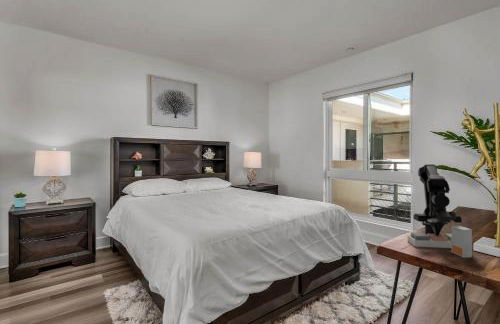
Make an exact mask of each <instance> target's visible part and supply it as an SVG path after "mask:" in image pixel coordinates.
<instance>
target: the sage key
mask: <svg viewBox="0 0 500 324" xmlns="http://www.w3.org/2000/svg"><path fill="white" fill-rule="evenodd" d="M451 234H452V233H443V236H445V237H447V238H448V240H449V241H451V236H452V235H451Z"/></svg>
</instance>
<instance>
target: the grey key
mask: <svg viewBox="0 0 500 324" xmlns="http://www.w3.org/2000/svg"><path fill="white" fill-rule="evenodd" d="M410 235H411V237H412V238H414V239H415V240H430V236H429V235H427V234H425V232H413V231H412V232H410Z"/></svg>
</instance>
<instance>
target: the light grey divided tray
mask: <svg viewBox="0 0 500 324" xmlns="http://www.w3.org/2000/svg"><path fill="white" fill-rule="evenodd" d="M407 242H409V243H410V245H412V246H414V247H419V248H441V249H442V248H443V249H451V241H449V240H448V241H433V240H431V239H430V240H415V239H414V238H412V237H411V234H407Z"/></svg>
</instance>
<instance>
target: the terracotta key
mask: <svg viewBox="0 0 500 324" xmlns="http://www.w3.org/2000/svg"><path fill="white" fill-rule="evenodd" d="M427 235H429V236H430V239H431V240H433V241H448V238H447V237H445V236H444V234H441V233H440V234H439V236H436V235H435V234H427Z"/></svg>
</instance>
